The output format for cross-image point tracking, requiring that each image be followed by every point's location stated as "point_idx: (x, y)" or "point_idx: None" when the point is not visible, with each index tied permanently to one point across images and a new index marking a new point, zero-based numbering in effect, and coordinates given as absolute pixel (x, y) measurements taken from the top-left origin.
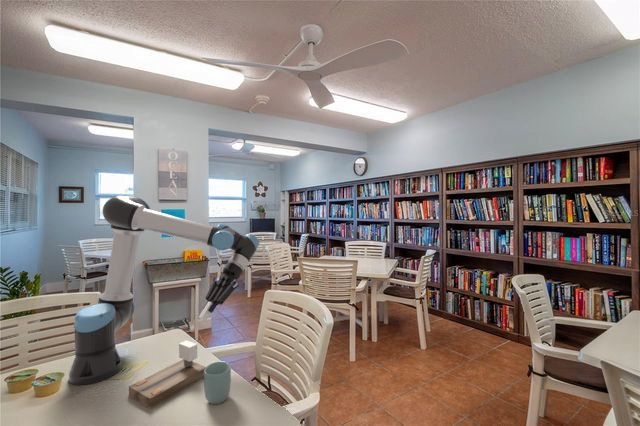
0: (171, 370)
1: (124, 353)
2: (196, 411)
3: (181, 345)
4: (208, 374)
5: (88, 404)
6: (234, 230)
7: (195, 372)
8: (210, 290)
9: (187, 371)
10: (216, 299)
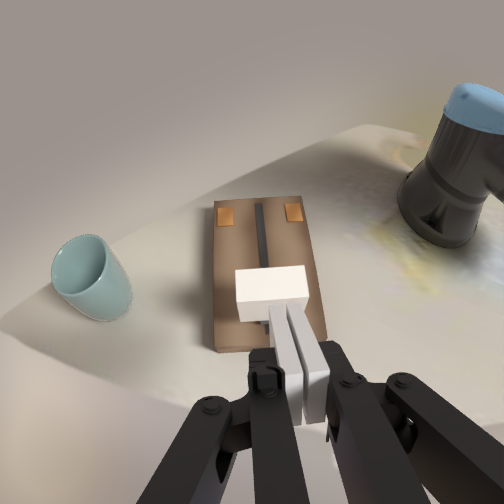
0: None
1: (490, 272)
2: (127, 257)
3: (287, 268)
4: (82, 235)
5: (327, 170)
6: None
7: (218, 309)
8: (456, 435)
9: None
10: (250, 414)
